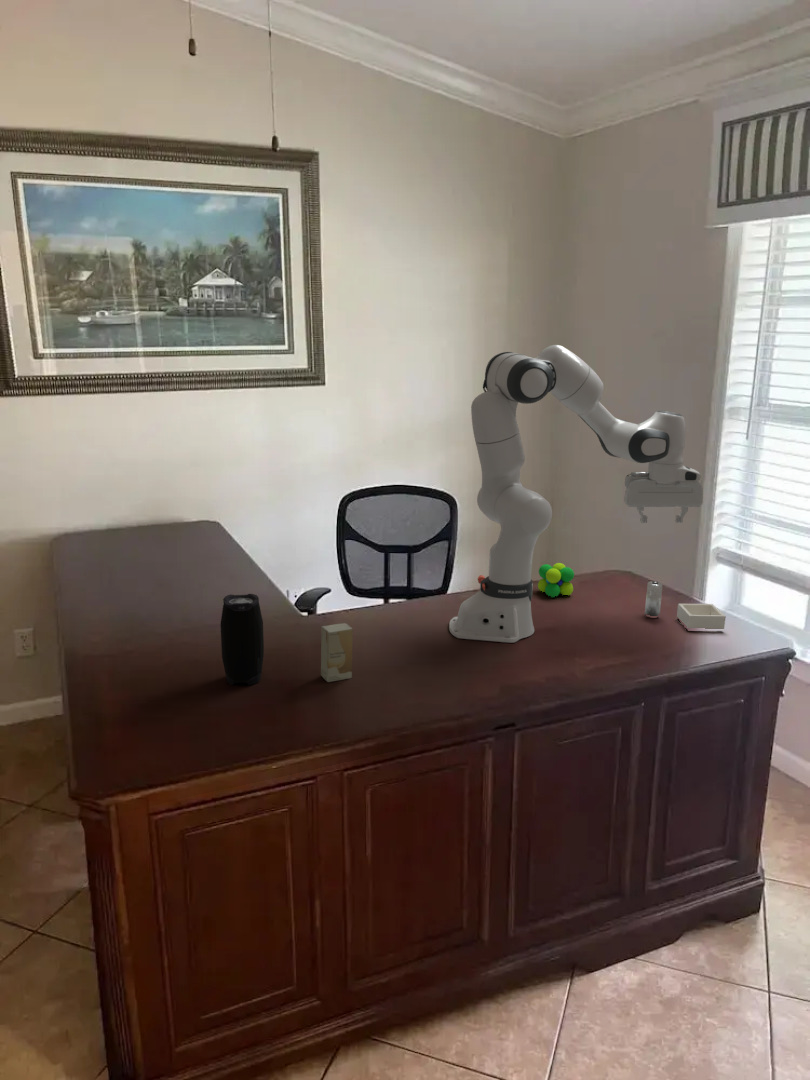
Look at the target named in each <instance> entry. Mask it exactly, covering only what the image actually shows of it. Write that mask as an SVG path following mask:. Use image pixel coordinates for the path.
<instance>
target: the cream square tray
mask: <svg viewBox="0 0 810 1080" xmlns="http://www.w3.org/2000/svg"><path fill="white" fill-rule="evenodd" d="M677 617H678V618H679V619H680V620H681V621H682V622H683V623H684V624H685V625H686V626H687V628H705V629H724V630H725V625H726V615H725V614H724V613H723V612H722V611H721V610H720V609H718V608H717V606H716V605H714V603H678V604H677V612H676V618H677Z"/></svg>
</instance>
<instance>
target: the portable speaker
mask: <svg viewBox="0 0 810 1080" xmlns="http://www.w3.org/2000/svg"><path fill="white" fill-rule="evenodd" d="M222 600H223V602H222V603H223V605H222V611H221V618H220V641H221V644H220V646H221V659H222V663H223V664H222V665H223V667H224V672H225V677H226V683H228V684H229V685H230V686H233V685H236V683H237V684H238V683H242V684H244V683H245V684H247V685H248V686H254V685H256V684H258V683H260V681H261V678H262V674H263V664H264V655H265V653H264V651H265V646H264V645H265V644H264V643H265V641H264V620H263V615H262V611H261V606H260V598H259V596H258V595H257V594H253V593H248V594H228V595H225V596H224V598H223V599H222Z"/></svg>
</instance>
